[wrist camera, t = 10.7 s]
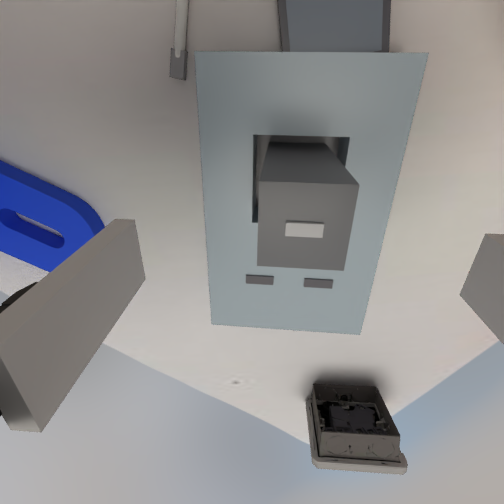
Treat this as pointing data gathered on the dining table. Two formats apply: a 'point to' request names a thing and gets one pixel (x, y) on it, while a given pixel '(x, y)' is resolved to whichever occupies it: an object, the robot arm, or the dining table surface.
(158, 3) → the dining table surface
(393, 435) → the electrical switch
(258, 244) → the plug
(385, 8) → the phone
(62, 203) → the bracket
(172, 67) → the usb cable
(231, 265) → the plate
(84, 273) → the robot arm
